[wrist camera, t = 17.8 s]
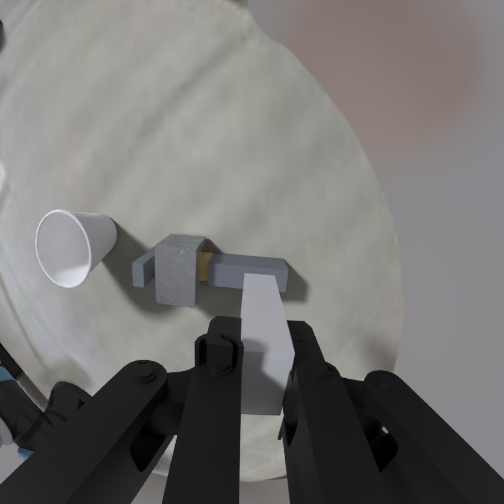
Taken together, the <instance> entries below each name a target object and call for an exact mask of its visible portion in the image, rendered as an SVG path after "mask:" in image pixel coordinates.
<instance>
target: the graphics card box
mask: <svg viewBox="0 0 504 504" xmlns="http://www.w3.org/2000/svg"><path fill="white" fill-rule="evenodd" d="M0 367H3V368H5V369H6V370H7V371H8V372H9V373H10V375H11V376H12V377H13V378H14V379H16V381H17V380H18V379H19V377H20V375H21V373H22V370H21V369H20V368H19V367H18V366H17V365H16V363H15V362H14V361H13V360H12V358H11V357H10V356H9V355H8V353H7V352H6V351H5V349H4V348H3V347H2V345H1V344H0Z"/></svg>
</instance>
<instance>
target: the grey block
mask: <svg viewBox="0 0 504 504" xmlns="http://www.w3.org/2000/svg"><path fill="white" fill-rule="evenodd" d="M205 241H206V237H203V236H191V235H179V234H170V235H169V236H167V237H166V238H164V239H163V240H162V241H160V242H159V243H158V244H156V245H155V289H156V303H159V304H167V305H174V306H182V307H191V308H195V306H196V303H197V301H198V299H199V296H200V294H201V291H202V289H203V284H204V281H200V278H201V254H202V249H203V248H204V246H205Z"/></svg>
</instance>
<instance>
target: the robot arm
mask: <svg viewBox="0 0 504 504" xmlns="http://www.w3.org/2000/svg"><path fill="white" fill-rule="evenodd" d="M282 406H283V413H284V417H283V421H282V424H281V428H280V431H279V435H278V440H281V438H282V437H283V445H284V454H285V463H286V471H287V480H288V489H289V498H290V504H504V479H503V478H502V477H501V476H500V475H499V474H497V472H496V471H495V470H494V469H493V468H492V467H491V466H490V465H489V464H488V463H487V462H486V461H485V460H484V459H483V458H482V457H481V456H480V455H479V454H478V453H477V452H476V451H475V450H474V449H473V448H472V447H471V446H470V445H469V444H468V443H466V441H465V440H464V439H463V438H462V437H461V436H459V435H458V434H457V433H456V432H455V431H454V430H453V429H452V428H451V427H450V426H449V425H448V424H447V423H446V422H445V421H444V420H443V419H442V418H441V417H440V416H439V415H438V414H437V413H436V412H435V411H434V410H433V409H432V408H431V407H430V406H429V405H428V404H427V403H426V402H424V400H423V399H421V398H420V397H419V396H418V395H417V394H416V393H415V392H414V391H413V390H412V389H411V388H410V387H409V386H408V385H407V384H406V383H405V382H404V381H403V380H401V378H399V377H398V376H397V375H395V374H393V373H391V372H388V371H382V370H377V371H372V372H370V373H368V374H367V376H366V377H365V379H364V381H358V380H352V379H347V378H343V377H341V376H340V373H339V371H338V370H337V369H336V367H334V366H333V365H331V364H330V363H328V362H325V360H324V357H323V355H322V352H321V349H320V347H319V344H318V342H317V339H316V337H315V335H314V332H313V330H312V327H310V326H309V325H308V324H307V323H306V322H305V321H290V320H286V317H285V313H284V309H283V305H282V301H281V298H280V294H279V290H278V286H277V282H276V279H275V276H273V275H261V274H250V273H245V274H244V285H243V296H242V307H241V318H235V317H224V316H216V317H215V318H214V319H213V320H211V321H210V324H209V328H208V332H207V334H203V335H202V336H200V337H198V338H197V340H196V341H195V367H193V368H191V369H189V370H186V371H182V372H171V373H167V371H166V369H165V368H164V367H163V366H162V365H161V364H159V363H157V362H155V361H150V360H137V361H134V362H130V363H129V364H127V365H126V366H124V367H123V368H122V369H121V370H120V371H119V372H118V373H117V374H116V375H115V376H114V377H113V378H112V379H110V380H109V381H108V382H107V383H106V384H105V385H104V386H103V387H102V388H101V389H100V390H99V391H98V392H97V393H96V394H95V395H94V396H92V397H91V396H90V395H88V394H87V393H86V392H85V391H83V390H82V389H80V388H78V387H77V386H75V385H73V384H70V383H67V382H58V383H56V385H55V386H54V387H53V388H52V390H51V394H50V397H49V401H48V405H47V409H46V410H45V411H44V413H43V412H42V410H41V409H40V408H39V407H38V406H37V405H36V404H35V403H34V402H33V401H32V400H31V399H30V397H29V396H28V395H27V394H26V393H25V392H24V391H23V389H22V388H21V387H20V386H19V385H18V383H17V381H16V379H14V378H13V377H12V376H11V375H10V373H9V372H8V371H7V370H6V369H5V368H3V367H0V447H1V445H2V444H4V445H11V444H12V443H13V442H15V444H17V445H18V447H19V448H18V454H19V455H20V457H22V458H23V460H25V461H24V462H23V463H22V464H21V465H20V466H19V467H18V468H17V469H16V470H15V471H14V472H13V473H12V474H11V475H10V476H9V477H8V478H7V479H6V480H5V481H3V482H2V483H1V484H0V504H131V502H132V501H133V499H134V498H135V496H136V495H137V493H138V492H139V490H140V489H141V487H142V486H143V484H144V483H145V481H146V480H147V478H148V477H149V475H150V474H151V472H152V470H153V469H154V467H155V466H156V464H157V463H158V461H159V460H160V458H161V456H162V455H163V453H164V452H165V450H166V449H167V447H168V445H169V444H170V442H171V441H172V439H173V437H174V435H177V439H176V443H175V447H174V452H173V456H172V460H171V465H170V469H169V473H168V478H167V483H166V487H165V491H164V496H163V501H162V504H239V474H240V426H241V414H251V415H280V414H281V410H282ZM383 426H384V427H385V428H386V429H387V430H388V433H385V432H384V431H383V430H382V428H383Z"/></svg>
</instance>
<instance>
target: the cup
mask: <svg viewBox="0 0 504 504" xmlns="http://www.w3.org/2000/svg"><path fill="white" fill-rule="evenodd" d="M116 240H117V230H116V227H115V224H114V223H113V221H112V220H111V219H110V218H109V217H108V216H107V215H104V214H99V213H81V212H80V213H79V212H68V211H65V210H54V211H51V212H49V213H48V214H46V215H45V216H44V218H43V219H42V220H41V222H40V224H39V226H38V229H37V233H36V253H37V257H38V260H39V263H40V265H41V267H42V269H43V271H44V272H45V274H46V275H47V276H48V278H49V279H50V280H51V281H52V282H54V283H55V284H57V285H58V286H60V287H63V288H68V289H71V288H76V287H78V286H80V285H82V284H83V283H84V282H85V281H86V279H87V278H88V276H89V274H90V272H91V271H92V270H93V269H94V268H95V267H96V266H97V264H98V263H99V262H100V261H101V260H102V259H103V258H104V257H105V256H106V255H107V254H108V253H109V252H110V250H111V249H112V248H113V247H114V245H115V243H116Z"/></svg>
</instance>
